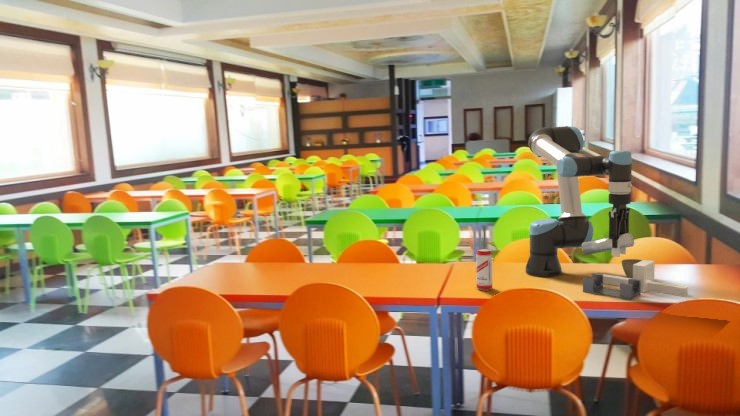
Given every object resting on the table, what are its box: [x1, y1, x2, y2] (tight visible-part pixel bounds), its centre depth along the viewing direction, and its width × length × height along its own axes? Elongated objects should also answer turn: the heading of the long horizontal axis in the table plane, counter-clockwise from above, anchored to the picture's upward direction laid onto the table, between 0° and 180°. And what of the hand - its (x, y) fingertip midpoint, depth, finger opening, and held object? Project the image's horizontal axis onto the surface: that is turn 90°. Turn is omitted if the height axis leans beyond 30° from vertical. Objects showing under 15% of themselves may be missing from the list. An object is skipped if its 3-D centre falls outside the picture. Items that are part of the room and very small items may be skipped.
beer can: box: [475, 248, 493, 291], centre depth 224 cm, size 6×6×16 cm
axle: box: [581, 232, 635, 256], centre depth 211 cm, size 18×5×5 cm, turn 45°
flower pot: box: [621, 258, 643, 279], centre depth 231 cm, size 10×10×7 cm
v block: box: [582, 272, 641, 301], centre depth 212 cm, size 18×9×6 cm, turn 44°
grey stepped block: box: [603, 259, 689, 297], centre depth 216 cm, size 31×11×10 cm, turn 44°
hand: (618, 254), depth 209 cm, fingers closed on axle, 5 cm apart
